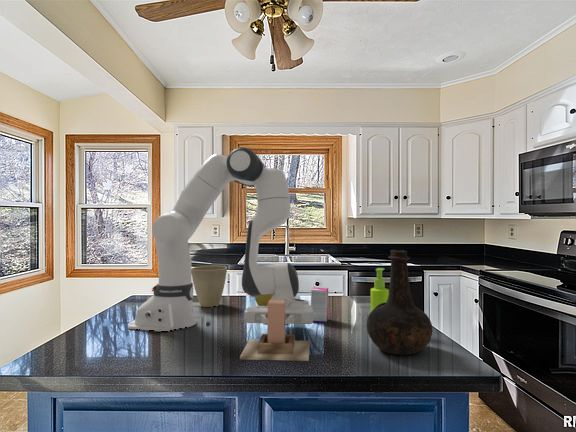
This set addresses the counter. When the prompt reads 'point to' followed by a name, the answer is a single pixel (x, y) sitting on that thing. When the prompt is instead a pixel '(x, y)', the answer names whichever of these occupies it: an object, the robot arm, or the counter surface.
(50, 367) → the counter surface
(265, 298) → the flower pot
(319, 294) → the supplement box
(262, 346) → the housing
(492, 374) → the counter surface
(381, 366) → the counter surface
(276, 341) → the block
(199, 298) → the plant pot
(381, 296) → the soap dispenser
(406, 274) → the glass bottle
